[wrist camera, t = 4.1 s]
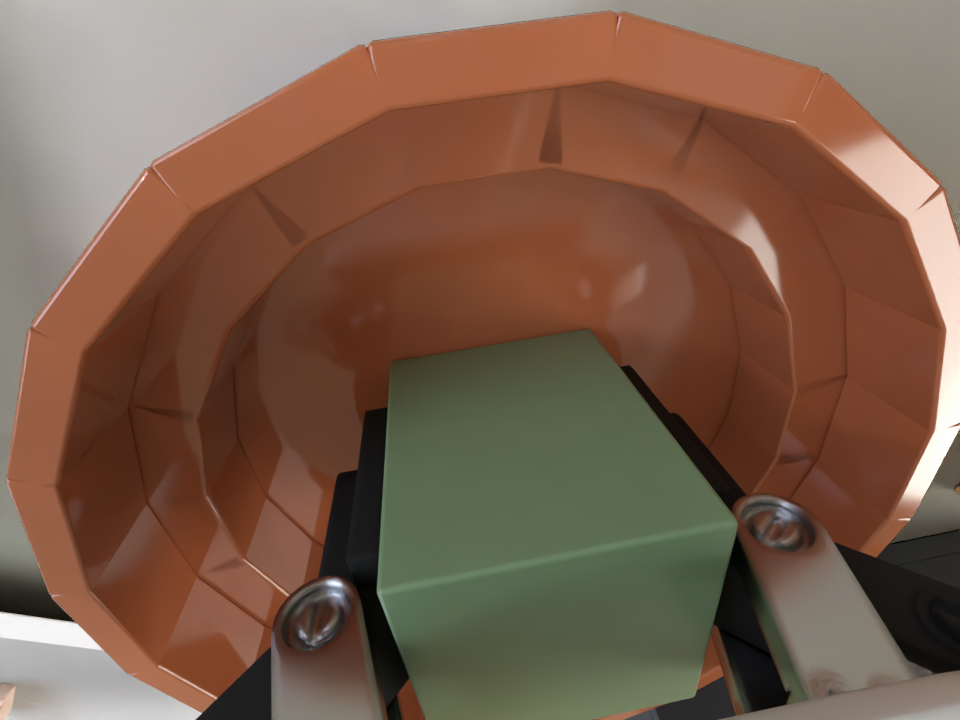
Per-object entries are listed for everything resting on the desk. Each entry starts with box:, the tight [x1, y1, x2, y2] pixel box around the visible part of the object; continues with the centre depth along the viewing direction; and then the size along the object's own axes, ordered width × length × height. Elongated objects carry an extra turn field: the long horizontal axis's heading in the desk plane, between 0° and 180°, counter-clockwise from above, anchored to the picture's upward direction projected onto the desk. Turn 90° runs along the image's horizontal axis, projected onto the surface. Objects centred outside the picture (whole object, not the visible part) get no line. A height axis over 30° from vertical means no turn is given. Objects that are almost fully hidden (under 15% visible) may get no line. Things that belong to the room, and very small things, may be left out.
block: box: [377, 329, 738, 720], centre depth 9 cm, size 5×5×6 cm
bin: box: [624, 531, 960, 720], centre depth 18 cm, size 11×15×6 cm
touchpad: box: [0, 612, 202, 720], centre depth 13 cm, size 8×15×2 cm, turn 61°
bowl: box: [6, 10, 960, 720], centre depth 10 cm, size 16×16×4 cm
